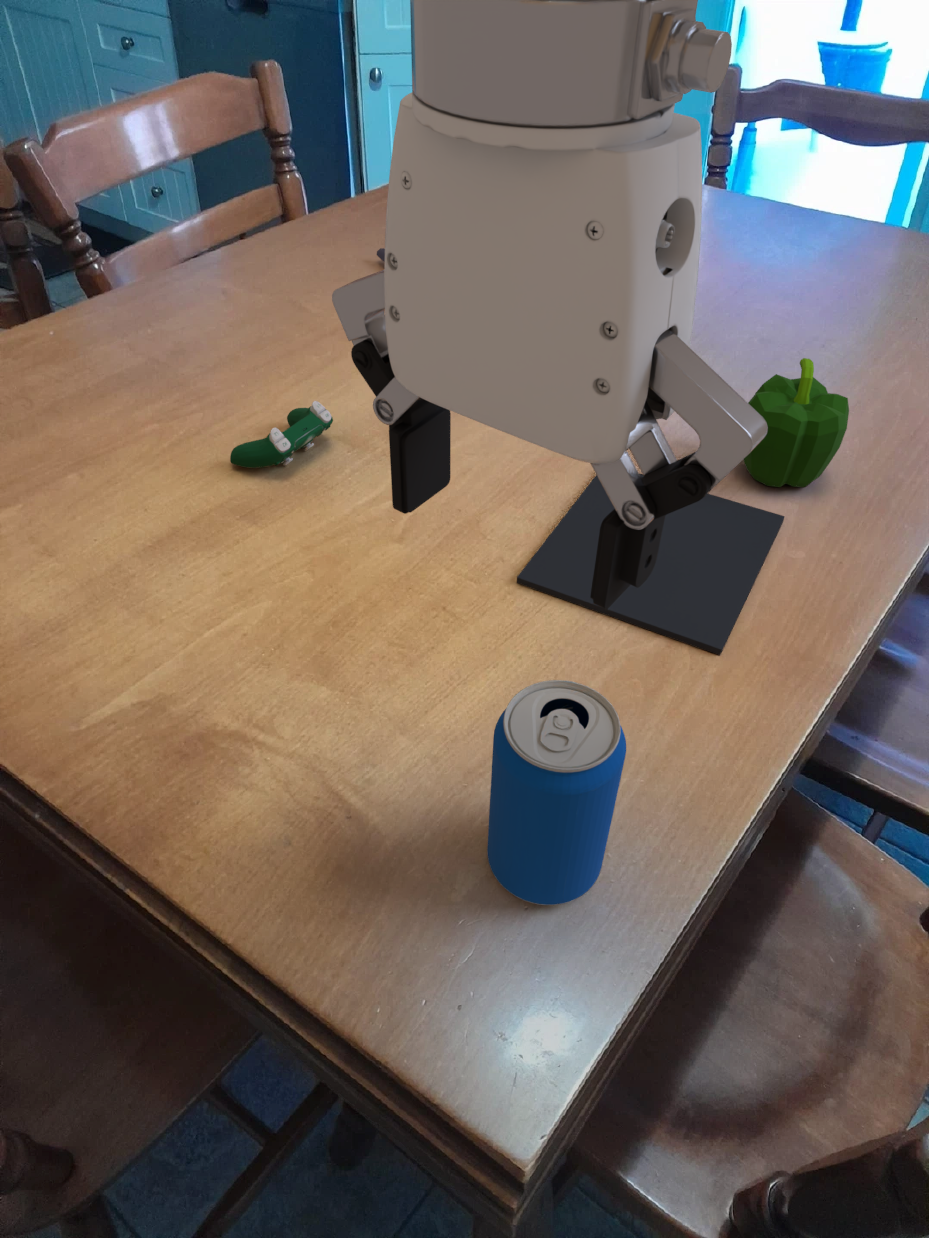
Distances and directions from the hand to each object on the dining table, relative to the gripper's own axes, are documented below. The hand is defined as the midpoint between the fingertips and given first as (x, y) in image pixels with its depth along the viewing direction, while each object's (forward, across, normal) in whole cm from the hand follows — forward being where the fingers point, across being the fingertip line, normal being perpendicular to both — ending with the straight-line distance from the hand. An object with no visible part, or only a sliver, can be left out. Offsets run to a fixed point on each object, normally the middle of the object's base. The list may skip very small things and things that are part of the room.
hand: (514, 540), depth 37 cm
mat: (+22, +6, -30) cm, 38 cm away
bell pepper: (+22, +2, -47) cm, 52 cm away
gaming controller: (+22, +39, -22) cm, 50 cm away
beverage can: (+22, -3, -1) cm, 23 cm away
